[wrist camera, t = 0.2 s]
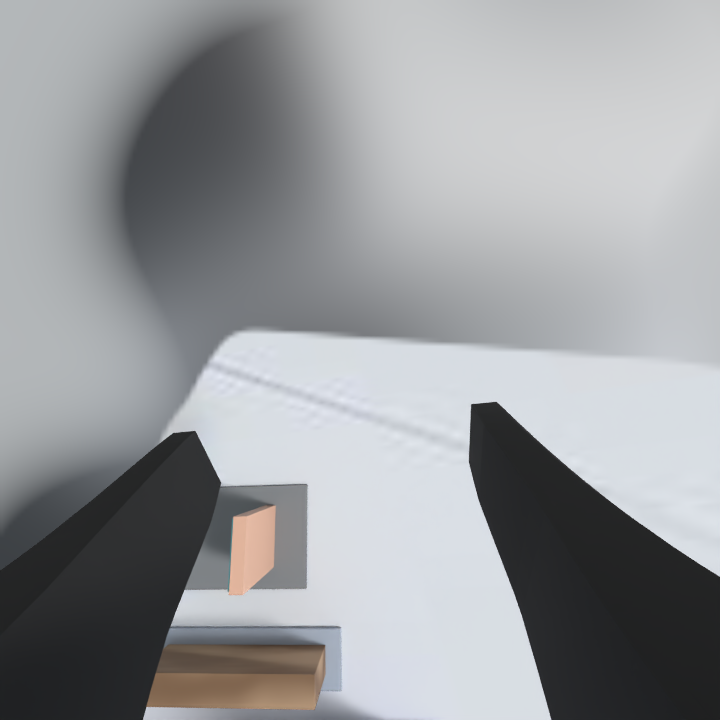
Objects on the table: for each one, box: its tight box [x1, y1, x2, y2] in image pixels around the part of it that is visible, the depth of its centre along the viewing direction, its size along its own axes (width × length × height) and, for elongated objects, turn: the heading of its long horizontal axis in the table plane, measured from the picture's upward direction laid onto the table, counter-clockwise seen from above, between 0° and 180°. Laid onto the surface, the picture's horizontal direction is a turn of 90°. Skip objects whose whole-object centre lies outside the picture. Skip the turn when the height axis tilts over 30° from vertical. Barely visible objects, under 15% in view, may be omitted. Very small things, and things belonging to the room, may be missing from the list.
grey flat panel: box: [163, 627, 342, 691], centre depth 35 cm, size 5×19×1 cm, turn 92°
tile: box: [228, 505, 276, 595], centre depth 34 cm, size 6×1×8 cm, turn 2°
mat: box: [185, 485, 307, 590], centre depth 38 cm, size 10×16×1 cm, turn 92°
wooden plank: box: [146, 644, 326, 710], centre depth 32 cm, size 2×16×5 cm, turn 92°
